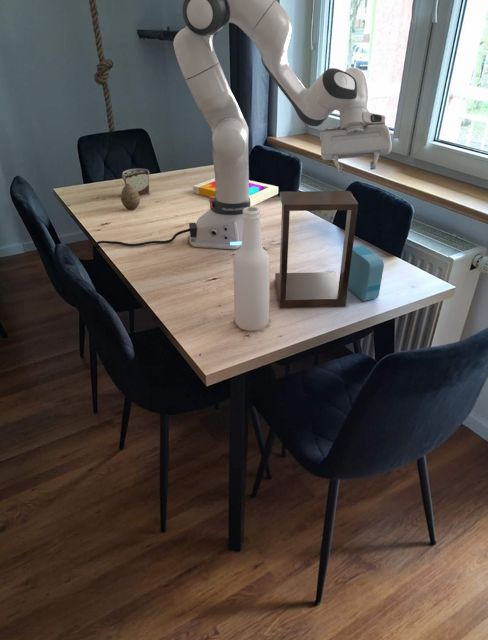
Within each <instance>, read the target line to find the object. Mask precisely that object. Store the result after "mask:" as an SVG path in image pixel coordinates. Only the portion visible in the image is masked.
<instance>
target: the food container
mask: <svg viewBox="0 0 488 640" xmlns="http://www.w3.org/2000/svg"><path fill="white" fill-rule="evenodd" d="M150 176H151V172H150V170H149V169H148V168H130V169H126V170H123V171H122V174H121V179H122V180H123V181H124V186H125V185H126V184H131V185H132V186H133V187H134V188H135V189H136V190H137V192H138V194H139V197H140V198H141V197H144V196H148V195H150Z"/></svg>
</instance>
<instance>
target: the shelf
mask: <svg viewBox="0 0 488 640" xmlns="http://www.w3.org/2000/svg"><path fill="white" fill-rule="evenodd" d="M279 199H280V204H281V222H280V223H281V224H280V226H281V227H280V247H279V249H280V250H279V251H280V253H279V272H276V273H275V274H274V282H275V286H276V293H277V294H276V295H277V300H278V305H279V309H296V308H297V309H300V308H343V307H344V308H345V307H346V305H347V304H346V303H347V297H348V296H347V295H348V289H349V288H348V281H349V273H350V265H351V258H352V250H353V247H354V242H355V233H356V225H357V219H358V218H357V217H358V209H359V203H358V201H357V200H356V198H355V197H354V196H353V193H352V192H351V190H314V191H313V190H312V191H311V190H309V191H307V190H306V191H279ZM310 211H311V212H314V211H315V212H316V211H320V212H321V211H322V212H323V211H346V219H345V228H344V235H343V236H344V238H343V246H342V255H341V264H340V270H339V271H340V272H339V278H338V275H337V272H336V271H325V272H323V271H322V272H321V271H319V272H315V271H314V272H288V261H289V260H288V257H289V237H290V235H289V234H290V215H291V214H290V213H291V212H310Z"/></svg>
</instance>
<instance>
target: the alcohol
mask: <svg viewBox="0 0 488 640" xmlns="http://www.w3.org/2000/svg"><path fill="white" fill-rule="evenodd" d="M232 269H233V270H232V272H233V303H234V305H233V307H234V309H233V310H234V322H235V324H236V325H237V327H238V328H240V329H242V330H244V331H248V332H256V331H260V330H262V329H264V328H265V327H266V326H267V325H268V323H269V321H270V283H271V282H270V281H271V280H270V279H271V278H270V277H271V274H270V273H271V260H270V255H269V253H268V252H267V251H266V249H265V248H264V247H263V244H262V231H261V209H259V207H256V206H251V207H246V208H244V209H243V229H242V244H241V246H240V247H239V248H238V249H237V250H236V252H235V253H234V256H233V261H232Z"/></svg>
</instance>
